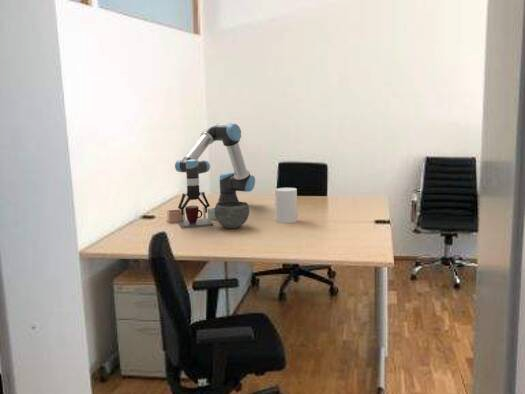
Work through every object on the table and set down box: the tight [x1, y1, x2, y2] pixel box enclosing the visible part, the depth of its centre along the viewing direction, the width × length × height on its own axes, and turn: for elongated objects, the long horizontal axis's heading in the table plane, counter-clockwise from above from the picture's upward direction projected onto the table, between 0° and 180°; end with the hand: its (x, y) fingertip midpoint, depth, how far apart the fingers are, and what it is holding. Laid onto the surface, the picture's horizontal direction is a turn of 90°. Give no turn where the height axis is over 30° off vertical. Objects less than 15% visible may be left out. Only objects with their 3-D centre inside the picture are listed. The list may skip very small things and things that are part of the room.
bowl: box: [214, 201, 250, 229], centre depth 351 cm, size 21×21×15 cm
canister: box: [274, 187, 298, 224], centre depth 365 cm, size 14×14×20 cm
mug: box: [184, 205, 203, 223], centre depth 362 cm, size 10×8×10 cm
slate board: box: [176, 218, 214, 229], centre depth 363 cm, size 20×16×1 cm
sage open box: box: [207, 207, 218, 222], centre depth 375 cm, size 8×8×7 cm
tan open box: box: [166, 208, 185, 224], centre depth 370 cm, size 9×9×7 cm
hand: (194, 218), depth 362 cm, fingers open, 12 cm apart
